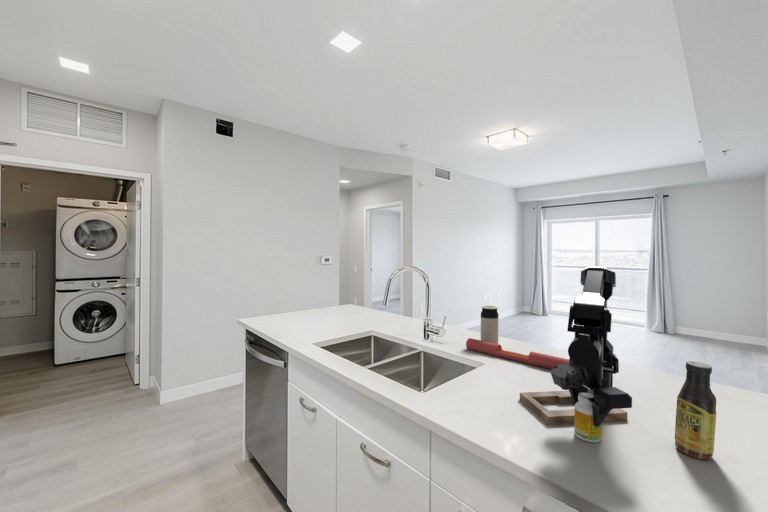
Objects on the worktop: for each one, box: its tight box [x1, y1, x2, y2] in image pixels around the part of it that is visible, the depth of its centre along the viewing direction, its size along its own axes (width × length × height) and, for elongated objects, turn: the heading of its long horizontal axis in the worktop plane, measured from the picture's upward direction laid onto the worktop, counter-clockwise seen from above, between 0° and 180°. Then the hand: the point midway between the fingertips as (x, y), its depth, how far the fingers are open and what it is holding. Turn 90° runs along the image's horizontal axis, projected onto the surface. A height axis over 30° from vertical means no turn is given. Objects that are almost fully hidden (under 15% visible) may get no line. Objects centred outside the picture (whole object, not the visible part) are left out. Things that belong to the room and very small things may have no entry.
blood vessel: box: [465, 337, 569, 370], centre depth 131 cm, size 42×5×5 cm, turn 45°
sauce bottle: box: [674, 360, 717, 461], centre depth 70 cm, size 7×6×20 cm
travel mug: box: [480, 305, 499, 344], centre depth 152 cm, size 8×8×18 cm
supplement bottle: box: [574, 393, 602, 443], centre depth 77 cm, size 5×5×10 cm
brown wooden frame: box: [519, 389, 629, 425], centre depth 90 cm, size 22×14×2 cm, turn 96°
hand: (587, 419), depth 77 cm, fingers closed on supplement bottle, 5 cm apart
